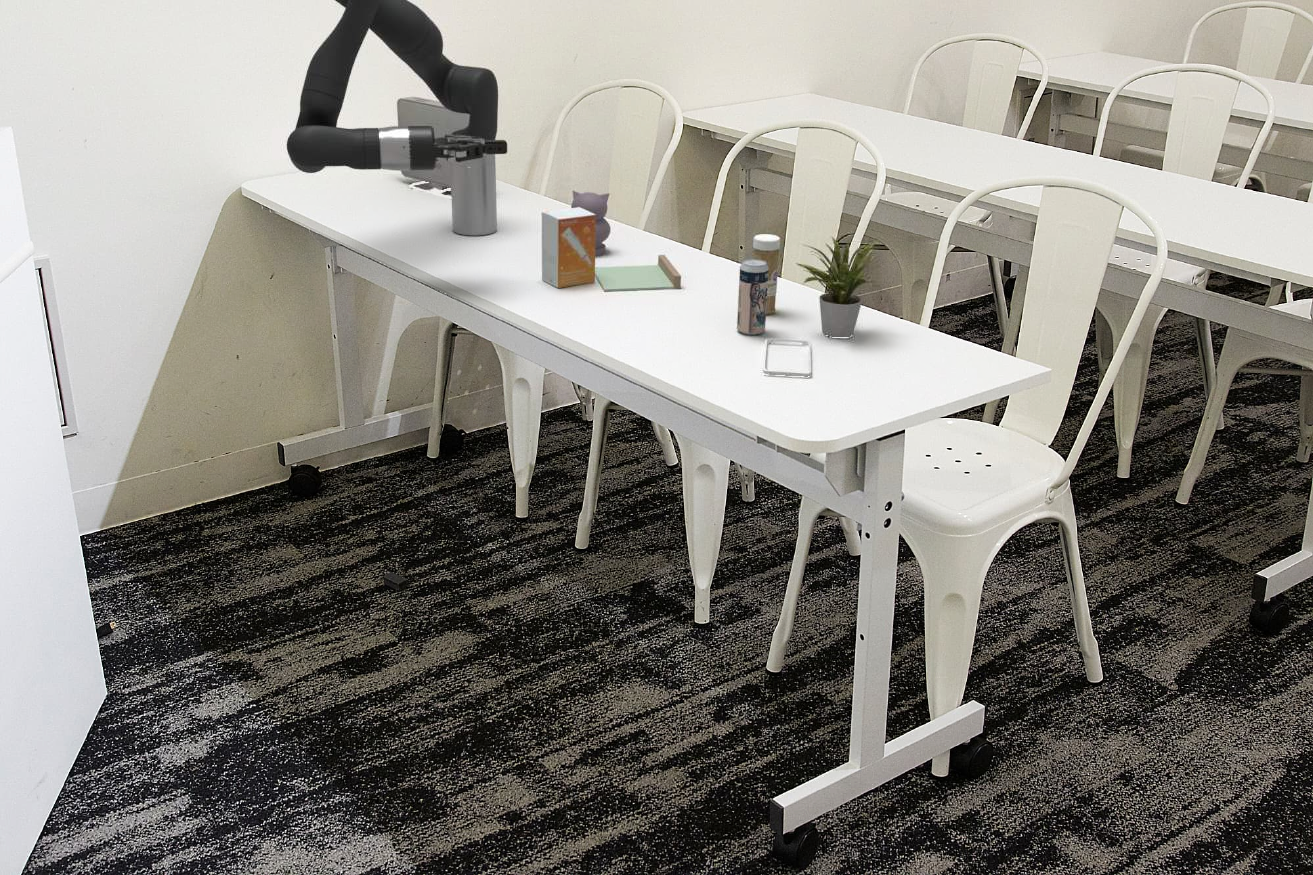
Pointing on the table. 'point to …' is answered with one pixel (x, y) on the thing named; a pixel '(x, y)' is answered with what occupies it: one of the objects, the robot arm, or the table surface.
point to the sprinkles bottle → (768, 264)
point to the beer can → (752, 296)
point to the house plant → (840, 290)
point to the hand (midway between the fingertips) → (506, 146)
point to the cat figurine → (598, 207)
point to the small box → (568, 247)
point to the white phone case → (787, 371)
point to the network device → (443, 123)
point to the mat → (639, 277)
